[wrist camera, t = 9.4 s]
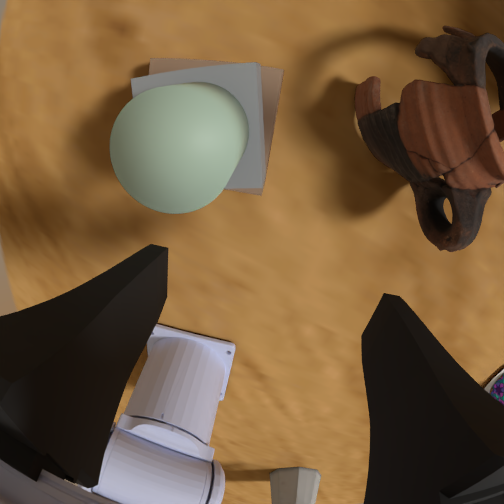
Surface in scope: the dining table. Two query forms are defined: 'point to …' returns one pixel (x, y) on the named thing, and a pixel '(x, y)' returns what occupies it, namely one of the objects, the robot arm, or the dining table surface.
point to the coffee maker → (294, 485)
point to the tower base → (270, 96)
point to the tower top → (245, 91)
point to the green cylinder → (178, 145)
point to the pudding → (497, 387)
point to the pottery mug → (443, 134)
